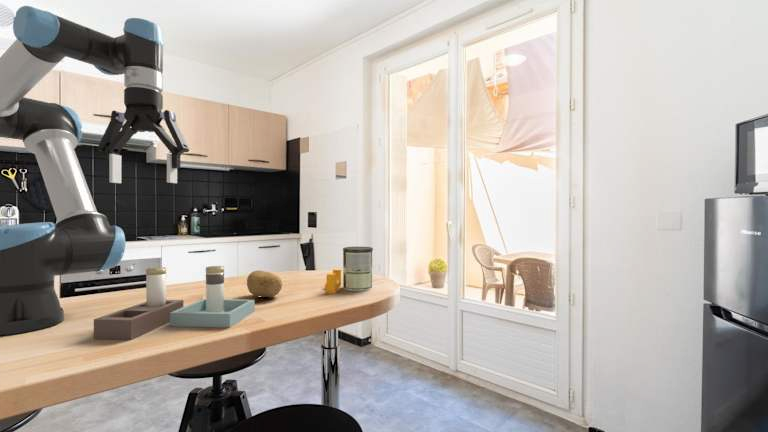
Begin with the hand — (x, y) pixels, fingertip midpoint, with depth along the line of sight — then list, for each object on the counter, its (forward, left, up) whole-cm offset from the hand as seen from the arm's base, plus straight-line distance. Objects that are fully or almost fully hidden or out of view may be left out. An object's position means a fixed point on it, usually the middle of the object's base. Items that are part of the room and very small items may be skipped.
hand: (143, 183), depth 87 cm
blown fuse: (+14, +6, -32) cm, 36 cm away
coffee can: (+44, +46, -33) cm, 72 cm away
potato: (+18, +29, -33) cm, 47 cm away
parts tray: (+14, +6, -33) cm, 36 cm away
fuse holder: (+1, -2, -33) cm, 33 cm away
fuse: (+1, +3, -32) cm, 32 cm away
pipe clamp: (+36, +42, -33) cm, 64 cm away
